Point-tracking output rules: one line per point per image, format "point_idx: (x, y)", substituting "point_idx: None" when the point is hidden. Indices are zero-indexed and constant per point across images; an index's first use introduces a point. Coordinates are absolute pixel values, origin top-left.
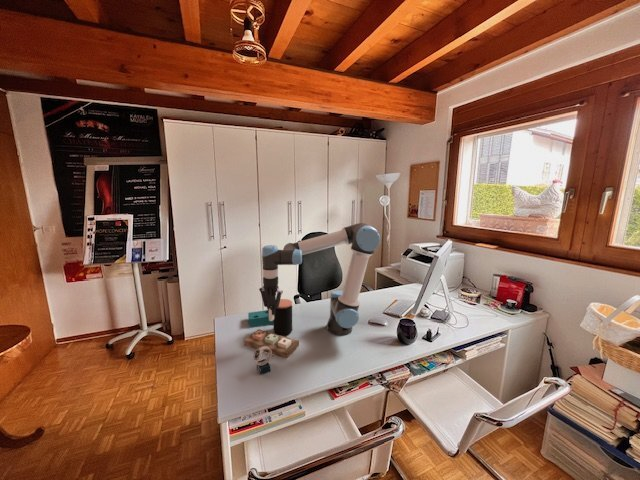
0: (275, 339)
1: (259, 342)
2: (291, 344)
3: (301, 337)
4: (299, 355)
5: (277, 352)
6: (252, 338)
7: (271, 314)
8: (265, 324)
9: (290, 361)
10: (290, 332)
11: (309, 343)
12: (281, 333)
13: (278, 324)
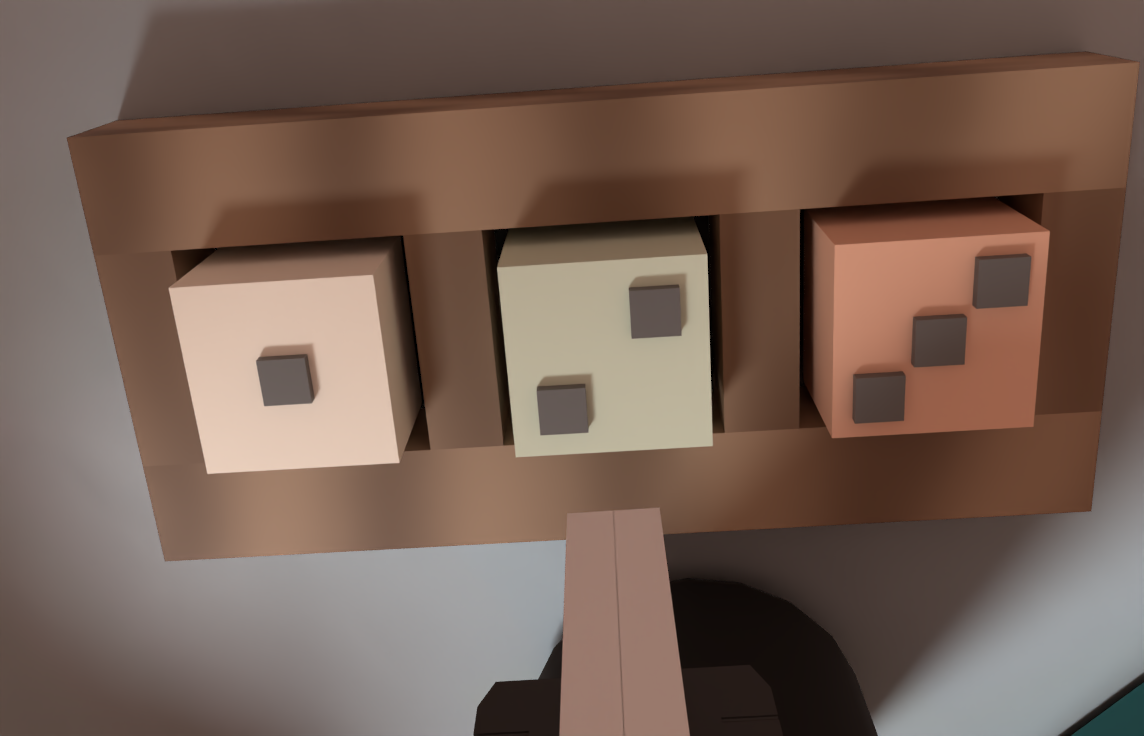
0: (506, 351)
1: (780, 157)
2: None
3: (324, 709)
4: (17, 310)
5: (293, 116)
6: None
7: (563, 665)
8: (1102, 728)
9: (22, 98)
10: None
11: (110, 639)
12: None
13: None
